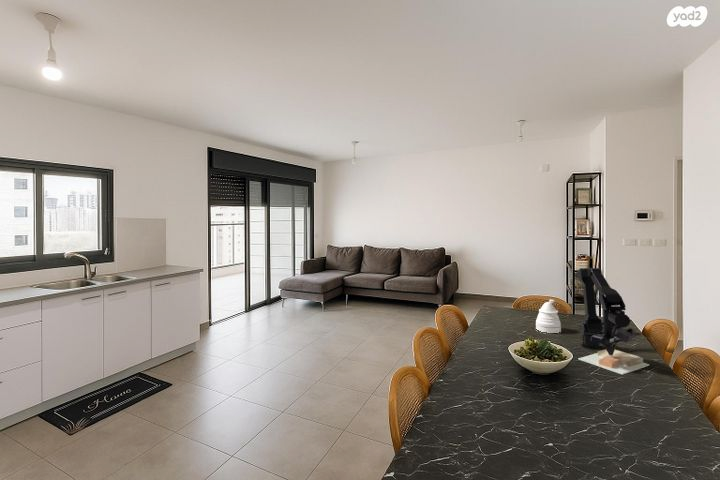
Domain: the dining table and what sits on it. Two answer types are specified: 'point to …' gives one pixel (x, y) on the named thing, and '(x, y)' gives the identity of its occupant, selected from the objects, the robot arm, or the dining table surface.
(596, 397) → the dining table surface
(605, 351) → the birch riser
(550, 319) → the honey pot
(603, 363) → the terracotta tile
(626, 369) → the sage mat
